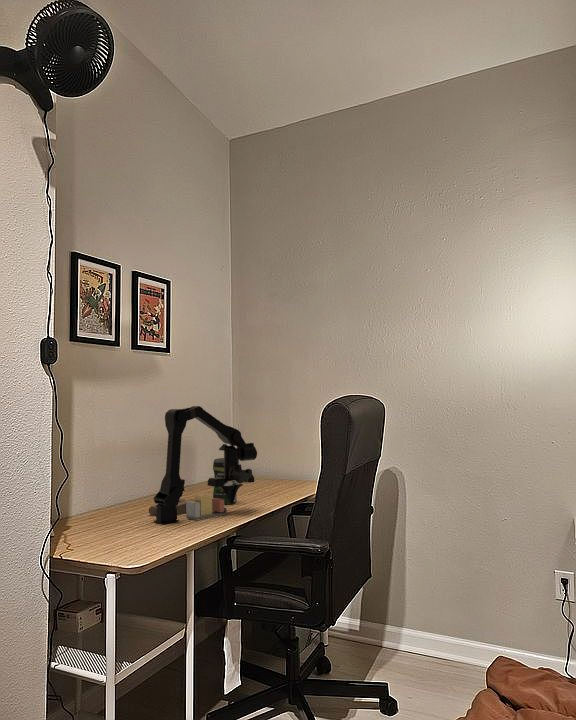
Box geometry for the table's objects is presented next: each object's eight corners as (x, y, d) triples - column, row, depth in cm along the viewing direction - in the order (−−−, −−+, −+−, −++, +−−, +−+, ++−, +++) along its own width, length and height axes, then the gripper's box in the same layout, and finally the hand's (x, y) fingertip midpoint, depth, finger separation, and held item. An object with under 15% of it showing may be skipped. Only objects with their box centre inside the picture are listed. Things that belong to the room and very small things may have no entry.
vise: (195, 520, 215) (195, 503, 216) (186, 518, 220) (186, 501, 220) (226, 514, 225) (226, 498, 225) (217, 512, 229) (217, 496, 230)
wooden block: (197, 508, 238) (172, 517, 221) (173, 507, 241) (147, 515, 225) (197, 499, 238) (172, 507, 221) (173, 498, 242) (147, 505, 225)
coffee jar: (209, 504, 249) (209, 458, 250) (219, 500, 256) (219, 456, 257) (230, 505, 245) (230, 459, 246) (239, 502, 252) (239, 457, 253)
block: (200, 515, 218) (200, 496, 218) (194, 514, 221) (194, 495, 221) (212, 514, 221) (212, 494, 222) (205, 512, 224) (205, 493, 225)
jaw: (220, 512, 223) (219, 500, 223) (211, 510, 227) (211, 498, 227) (224, 511, 224) (224, 499, 225) (215, 509, 228) (215, 497, 229)
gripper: (224, 465, 219) (224, 508, 218) (263, 461, 232) (263, 502, 231) (206, 463, 227) (206, 505, 226) (245, 459, 240) (245, 499, 239)
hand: (231, 503), depth 230 cm, fingers closed
